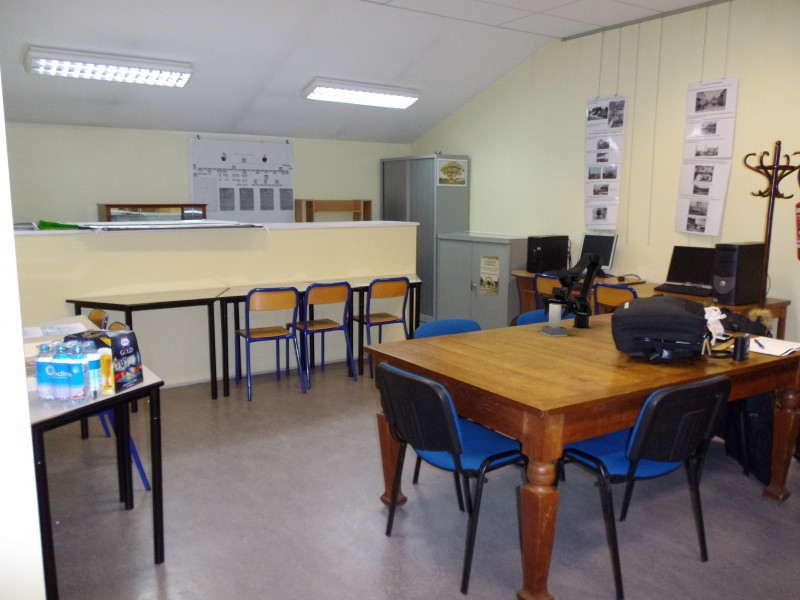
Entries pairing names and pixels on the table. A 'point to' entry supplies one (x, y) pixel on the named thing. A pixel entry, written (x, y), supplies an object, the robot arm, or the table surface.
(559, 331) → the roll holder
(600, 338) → the table surface
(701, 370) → the table surface
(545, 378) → the table surface
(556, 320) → the paper towel roll
